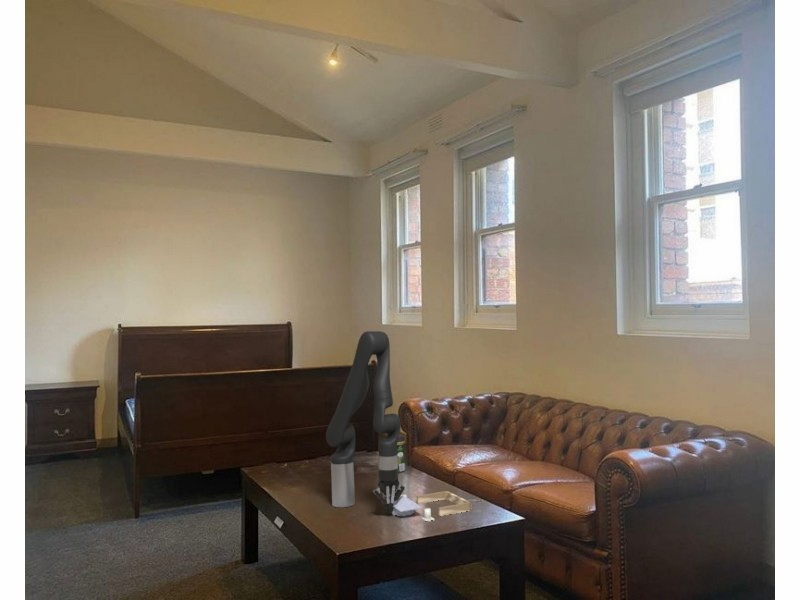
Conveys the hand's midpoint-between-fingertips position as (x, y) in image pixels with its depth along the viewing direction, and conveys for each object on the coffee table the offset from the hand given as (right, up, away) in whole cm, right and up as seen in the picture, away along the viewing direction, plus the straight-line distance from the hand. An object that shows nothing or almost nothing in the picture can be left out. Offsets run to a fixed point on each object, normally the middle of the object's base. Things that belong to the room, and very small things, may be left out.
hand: (389, 512), depth 235 cm
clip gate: (+10, -1, +4) cm, 11 cm away
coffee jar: (+2, -4, +69) cm, 70 cm away
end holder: (+21, -1, +10) cm, 23 cm away
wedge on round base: (+6, -2, +3) cm, 7 cm away
